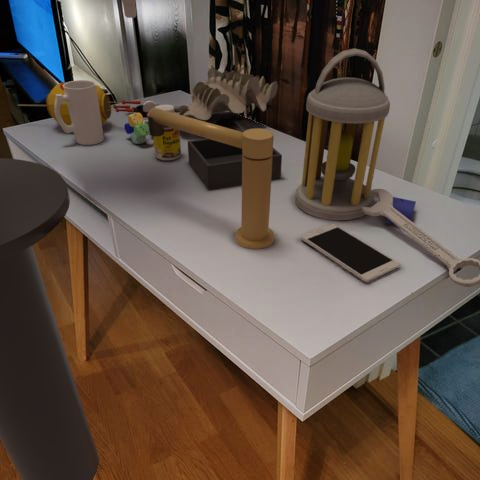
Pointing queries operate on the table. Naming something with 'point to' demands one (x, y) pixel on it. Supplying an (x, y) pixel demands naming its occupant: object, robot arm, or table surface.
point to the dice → (137, 128)
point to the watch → (145, 108)
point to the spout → (214, 133)
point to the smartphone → (350, 252)
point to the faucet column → (255, 204)
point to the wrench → (420, 236)
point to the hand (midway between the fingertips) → (133, 7)
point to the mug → (81, 111)
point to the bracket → (402, 208)
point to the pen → (176, 108)
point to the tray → (222, 163)
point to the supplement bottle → (167, 140)
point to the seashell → (228, 94)
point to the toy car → (235, 123)
